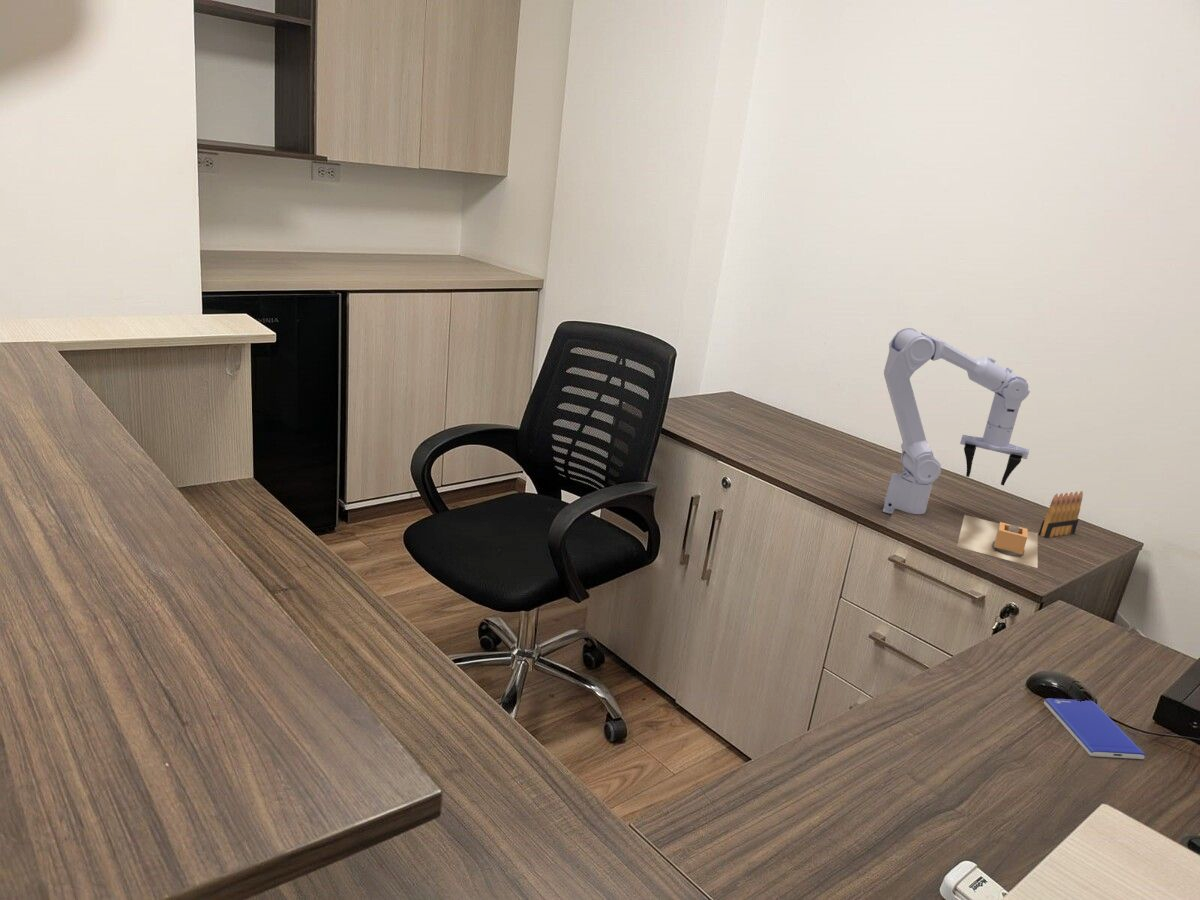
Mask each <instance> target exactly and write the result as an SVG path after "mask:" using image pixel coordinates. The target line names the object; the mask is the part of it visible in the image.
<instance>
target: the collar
mask: <svg viewBox="0 0 1200 900" xmlns="http://www.w3.org/2000/svg"><path fill="white" fill-rule="evenodd" d="M1009 525H1011V524H1009V523H1006V522H1002V521H1000V522H999V527H998V531H997V534H996V538H995V545H994V547H995V548H999V549H1003V550H1007V551H1011V552H1014V553H1018V554H1023V551H1024V547H1025V544H1026V541H1027V536H1028V531H1029V530H1028V528H1026V527H1025V528H1024V527H1021V526H1018V527H1019V531H1018V533H1014V532H1010V531H1008V529H1009Z"/></svg>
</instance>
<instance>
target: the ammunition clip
mask: <svg viewBox="0 0 1200 900" xmlns="http://www.w3.org/2000/svg"><path fill="white" fill-rule="evenodd" d="M1083 497H1084V493H1083V490H1081V491H1079V493H1078V491H1075V492H1074V493H1073V492H1070V493H1069V494H1068V492H1065V494H1063V493H1062V492H1060V494H1059V495H1058V493H1055V495H1054V496H1053V498H1052V499H1051V501H1050V505H1049V506H1048V507H1049V508H1048V509H1047V512H1046V515H1045V518H1044V520H1042V523H1041V525H1040V529H1039V531H1038V536H1041V537H1043V538H1044V539H1048V538H1053V537H1059V536H1063V535H1067V536H1068V535H1069V534H1070V535H1074V534H1075V533H1076V530H1077V526H1078V522H1079V519H1078V517H1079V515H1080V511H1081V506H1082V501H1083Z"/></svg>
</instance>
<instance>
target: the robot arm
mask: <svg viewBox="0 0 1200 900" xmlns="http://www.w3.org/2000/svg"><path fill="white" fill-rule="evenodd" d="M888 348H889V349H888V354H887V355H888V356H887V357H886V362H885V365H884V369H883V375H884V379H885V384H886V388H887V390H888V393H889V398H890V401H891V404H892V409H893V412H894V416H895V419H896V422H897V426H898V429H899V433H900V436H901V441H902V443H901V445H900V448H901V455H900V463H901V465H902V467H903V468H902V471H901V473H896V472H892V474H891V477H890V480H889V484H888V488H887V492H886V494H885V497H884V504H883V508H882V512H883V513H886V514H890V515H893V514H894V512H895V510H899V511H901V512H904V513H908V514H912V515H913V514H914V515H923V514H925V513H926V511H927V507H928V505H929V504H928V503H929V499H930V495H931V493H932V492H931V491H932V488H933V484H934V482H935V481H937V480H938V478H939V477H940V475H941V474H942V473H941V472H942V466H941V463H940V462H939V461H938V460H937V458H936V457H935V456H934V453H933V450H932V448H931V446H930V445H929V443H928V441H927V438H926V433H925V431H924V426H923V424H922V420H921V419H922V418H921V416H920V413H919V410H918V405H917V401H916V397H915V395H914V390H913V387H912V383H911V380H910V379H911V377H912V375H914V373H915V372H916V371H917V370H919V369H920V368H921V367H923V366H924V365H925V364H926V363H927V362H928V361H929V360H931V361H932V362H934V361H938V360H941V359H942V360H944V361H946V362H948V363H950V364H952V365H953V366H954V365H955V366H956V367H959V368H960V369H962V370H964V371H966V372H967V373H966V374H967V376H968V379H969V381H970V380H971V382H974V383H976V384H977V385H980V386H981V387H984V388H985V389H987V390H988V391H991V392H993V393H994V395H993V399H992V403H991V406H990V410H989V414H988V416H987V417H988V418H987V420H986V425H985V429H984V431H983V432H984V433H983V436H982V437H979V436H974V435H973V436H972V435H967V434H962V436H961V439H960V442H959V445H962V446H963V445H964V447H963V451H964V456H965V461H966V462H965V463H966V473H965V477H968V478H969V477H970V475H971V473H972V465H973V461H974V456H975V453H976V449H977V448H980V449H984V450H988V451H992V452H997V453H1002V454H1005V455H1009V456H1008V459H1007V465H1006V468H1005V471H1004V473H1003V476H1002V478H1001V483H1000V486H1005V483H1006V482H1007V479H1008V478H1009V476H1010V475H1011V474H1012V472H1013V471H1014V470H1015V469H1016V468H1017V467H1018V465H1019V464H1021V462H1022V459H1023V460H1024V459H1025V460H1027V459H1028V456H1029V452H1030V449H1029V448H1024V447H1022V446H1017V445H1015V444H1011V443H1010V442H1011V440H1012V439H1011V438H1012V434H1013V432H1014V427H1015V423H1016V420H1017V417H1018V413H1019V410H1020V407H1021V405H1022V403H1023V401H1024V400H1026V399H1027V397H1028V396H1029V395H1030V393H1031V391H1030V390H1029V383H1028V382H1027V379H1025V378H1024V377H1022V376H1021V375H1018V374H1016V373H1015V372H1013V369H1011V368H1009V367H1003V366H1001V365H1000V364H998V363H996V360H995V359H994V358H992V357H990V356H989V357H987V358H986V357H984V356H981V357H977V358H973V357H972V356H971V355H968V354H967V353H964V352H963V351H962V350H959V349H958V348H956V347H954V346H953V345H951V344H949V343H947V341H943V340H942V339H940V338H938V337H936V336H932V335H931V334H927V333H925V332H921V331H920V332H919V331H918V330H916V329H914V328H912V327H911V328H910V327H905V328H902V329H900V330H898V331H897V332H896V333H895V335H894V336H893V337H892V338H891V340H890V341H889V342H888Z"/></svg>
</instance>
